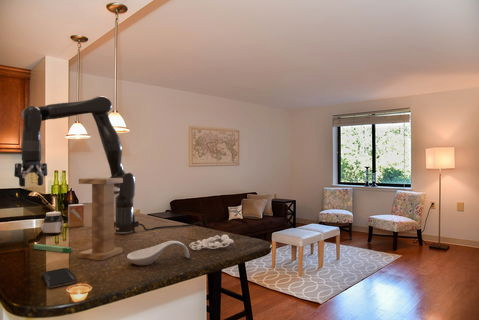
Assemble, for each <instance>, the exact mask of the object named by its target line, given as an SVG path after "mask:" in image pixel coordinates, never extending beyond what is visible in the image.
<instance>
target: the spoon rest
mask: <svg viewBox="0 0 479 320" xmlns="http://www.w3.org/2000/svg"><path fill="white" fill-rule="evenodd" d="M171 246H179V247H181V248H182V249H183V252H184V253H183V254H184V257H185V258H186V259H190V257H191V255H190V251H189V249H188V247H187V246H186V245H185V244H184V243H183V242H181V241H178V240H168V241H164V242H162V243H159V244H156V245H153V246H150V247H149V246H148V247H147V248H142V249H137V250H133V251H132V252H129V253H128V254H127V255H126V258H127V260H128V261H129V262H130V263H131V264H134V265H137V266H149V265H151V264H153V263H154V262H155V261H156V260H157V259H158V257H159V256H160V255H162V253H163V252H164V251H165V250H166V249H168V248H169V247H171Z"/></svg>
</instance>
